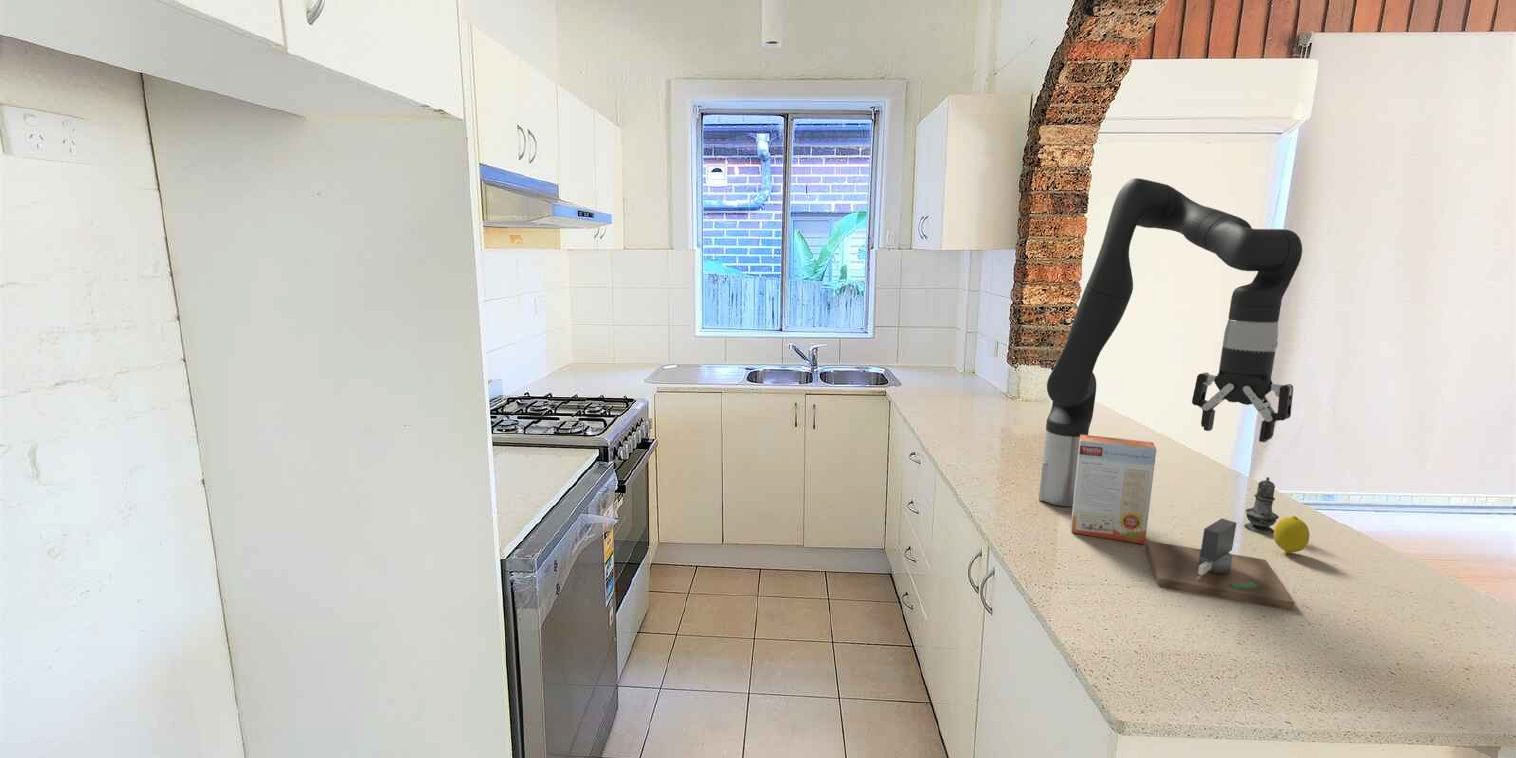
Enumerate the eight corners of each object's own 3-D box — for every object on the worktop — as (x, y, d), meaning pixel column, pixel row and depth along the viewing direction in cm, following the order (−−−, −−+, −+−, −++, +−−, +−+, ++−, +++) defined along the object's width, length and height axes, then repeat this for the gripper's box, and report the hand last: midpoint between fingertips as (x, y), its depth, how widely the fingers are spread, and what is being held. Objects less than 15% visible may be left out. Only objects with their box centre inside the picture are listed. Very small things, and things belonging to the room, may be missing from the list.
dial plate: (1157, 585, 120) (1158, 576, 120) (1145, 547, 135) (1147, 538, 135) (1293, 610, 112) (1295, 600, 112) (1264, 566, 127) (1266, 557, 127)
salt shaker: (1281, 535, 141) (1291, 482, 139) (1251, 533, 142) (1259, 480, 140) (1267, 524, 147) (1276, 473, 145) (1237, 522, 148) (1245, 471, 146)
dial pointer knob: (1207, 556, 128) (1214, 516, 126) (1237, 566, 124) (1244, 525, 122) (1184, 571, 122) (1190, 529, 120) (1215, 582, 118) (1222, 539, 116)
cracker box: (1142, 534, 141) (1154, 440, 137) (1145, 545, 136) (1158, 448, 132) (1070, 522, 147) (1080, 432, 143) (1070, 533, 142) (1080, 439, 138)
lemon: (1298, 549, 135) (1305, 513, 133) (1310, 561, 130) (1317, 523, 128) (1266, 545, 137) (1272, 509, 135) (1277, 557, 131) (1283, 519, 130)
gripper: (1194, 343, 119) (1182, 430, 122) (1291, 353, 107) (1275, 449, 111) (1211, 339, 123) (1199, 423, 126) (1306, 349, 112) (1290, 441, 115)
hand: (1234, 435), depth 118 cm, fingers open, 8 cm apart
